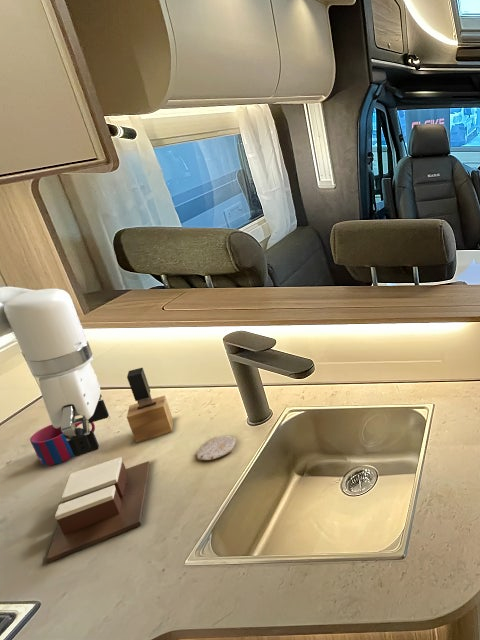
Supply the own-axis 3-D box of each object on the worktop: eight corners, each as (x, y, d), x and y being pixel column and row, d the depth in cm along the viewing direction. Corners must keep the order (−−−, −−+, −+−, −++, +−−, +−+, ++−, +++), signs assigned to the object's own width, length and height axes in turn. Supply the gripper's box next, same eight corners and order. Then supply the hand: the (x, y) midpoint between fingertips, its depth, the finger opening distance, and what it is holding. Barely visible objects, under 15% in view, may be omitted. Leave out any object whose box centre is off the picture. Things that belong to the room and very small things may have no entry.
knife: (147, 433, 103) (126, 377, 98) (148, 426, 106) (128, 370, 100) (160, 429, 105) (141, 373, 99) (161, 422, 107) (142, 367, 101)
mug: (40, 455, 98) (29, 432, 95) (98, 432, 105) (89, 410, 102) (41, 471, 94) (30, 447, 91) (101, 446, 101) (92, 423, 98)
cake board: (47, 563, 75) (45, 559, 75) (72, 491, 89) (70, 487, 89) (140, 525, 82) (139, 521, 82) (150, 464, 96) (149, 460, 96)
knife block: (136, 443, 102) (126, 417, 99) (138, 430, 106) (129, 405, 103) (171, 431, 106) (163, 406, 103) (173, 419, 109) (165, 395, 107)
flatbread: (189, 460, 97) (188, 457, 97) (213, 436, 104) (212, 433, 104) (222, 462, 97) (221, 459, 96) (244, 438, 104) (243, 435, 103)
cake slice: (63, 535, 79) (54, 516, 77) (67, 523, 81) (58, 504, 80) (119, 513, 83) (111, 495, 82) (121, 502, 86) (114, 484, 84)
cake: (69, 516, 83) (61, 498, 81) (78, 491, 88) (70, 473, 86) (123, 496, 87) (115, 479, 85) (127, 473, 92) (121, 456, 91)
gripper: (45, 342, 77) (76, 416, 82) (11, 392, 63) (51, 476, 69) (100, 331, 81) (126, 402, 87) (79, 376, 67) (111, 456, 73)
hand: (93, 435), depth 78 cm, fingers open, 9 cm apart
